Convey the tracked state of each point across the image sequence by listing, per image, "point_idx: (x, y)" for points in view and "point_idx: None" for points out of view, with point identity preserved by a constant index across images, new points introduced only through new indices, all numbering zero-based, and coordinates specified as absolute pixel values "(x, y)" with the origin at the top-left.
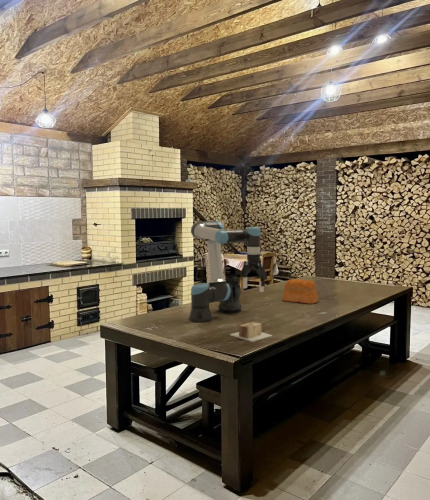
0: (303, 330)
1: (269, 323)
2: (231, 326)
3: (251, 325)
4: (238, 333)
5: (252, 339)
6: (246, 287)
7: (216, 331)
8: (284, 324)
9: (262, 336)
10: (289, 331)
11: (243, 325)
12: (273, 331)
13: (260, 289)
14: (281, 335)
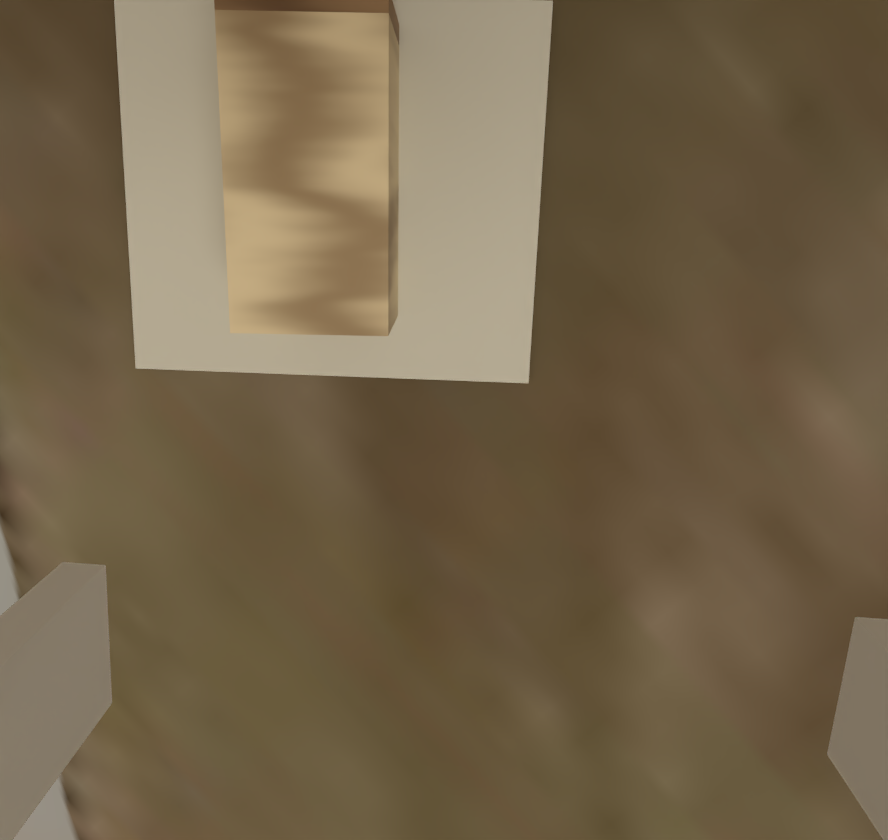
0: (81, 775)
1: (547, 757)
2: (824, 349)
3: (254, 143)
4: (491, 118)
5: (162, 33)
6: (842, 736)
7: (825, 10)
8: (392, 829)
9: (175, 236)
10: (154, 650)
11: (341, 48)
12: (278, 532)
13: (16, 603)
14: (97, 466)
